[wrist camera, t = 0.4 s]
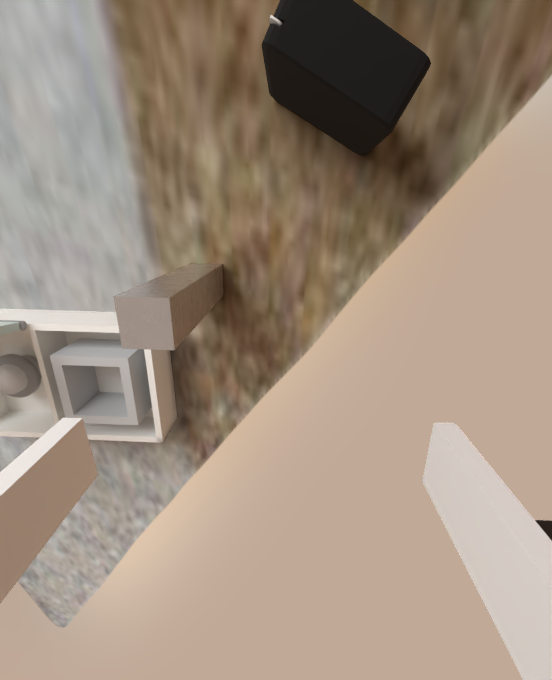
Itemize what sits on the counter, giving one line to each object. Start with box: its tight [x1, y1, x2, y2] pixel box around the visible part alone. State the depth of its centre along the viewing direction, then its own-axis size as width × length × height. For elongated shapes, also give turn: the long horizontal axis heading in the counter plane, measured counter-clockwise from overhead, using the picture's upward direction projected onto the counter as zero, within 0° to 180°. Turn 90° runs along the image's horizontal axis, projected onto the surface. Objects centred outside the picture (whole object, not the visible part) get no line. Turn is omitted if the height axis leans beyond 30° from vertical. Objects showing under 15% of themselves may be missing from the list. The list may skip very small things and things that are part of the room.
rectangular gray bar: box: [113, 263, 224, 350], centre depth 27 cm, size 3×3×16 cm
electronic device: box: [262, 0, 431, 155], centre depth 24 cm, size 4×10×10 cm, turn 61°
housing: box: [0, 309, 177, 443], centre depth 36 cm, size 14×22×6 cm, turn 89°
